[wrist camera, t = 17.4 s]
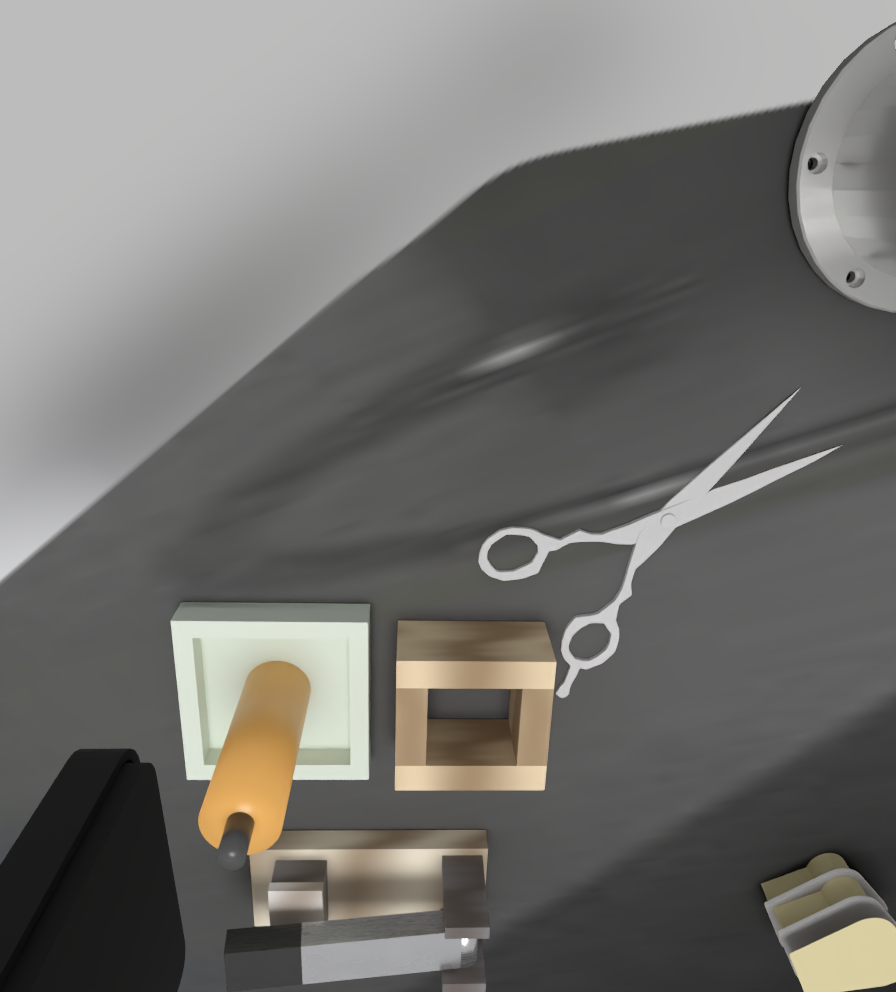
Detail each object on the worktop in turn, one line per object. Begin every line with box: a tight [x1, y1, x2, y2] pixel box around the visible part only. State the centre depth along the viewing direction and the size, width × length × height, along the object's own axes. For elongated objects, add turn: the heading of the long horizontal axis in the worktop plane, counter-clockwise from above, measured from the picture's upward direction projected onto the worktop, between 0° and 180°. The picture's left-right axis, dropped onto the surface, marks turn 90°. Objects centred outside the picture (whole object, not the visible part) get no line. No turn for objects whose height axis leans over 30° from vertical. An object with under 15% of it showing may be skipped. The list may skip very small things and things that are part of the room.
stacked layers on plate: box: [761, 853, 896, 992], centre depth 50 cm, size 10×9×6 cm
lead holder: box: [395, 620, 556, 790], centre depth 43 cm, size 8×8×4 cm
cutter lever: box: [224, 910, 478, 992], centre depth 44 cm, size 14×3×2 cm, turn 88°
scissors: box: [478, 389, 842, 698], centre depth 42 cm, size 11×1×20 cm
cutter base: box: [250, 830, 490, 992], centre depth 47 cm, size 14×6×6 cm, turn 88°
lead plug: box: [198, 661, 311, 870], centre depth 38 cm, size 4×4×12 cm
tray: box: [171, 602, 371, 780], centre depth 44 cm, size 10×10×2 cm
